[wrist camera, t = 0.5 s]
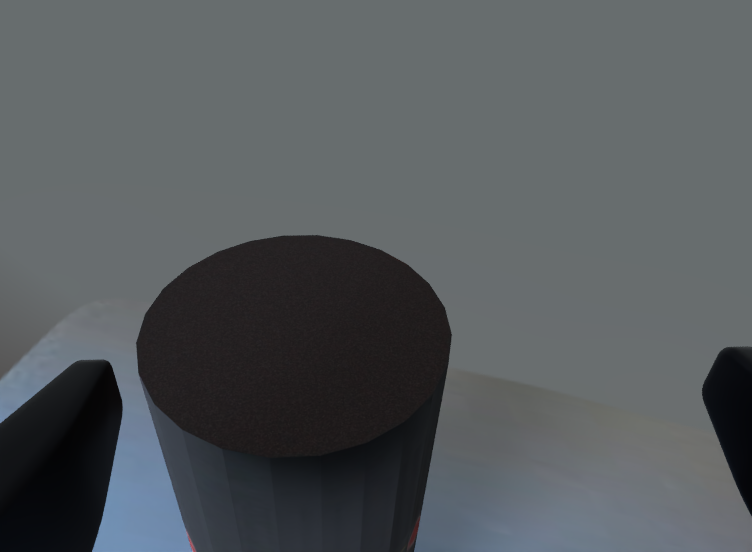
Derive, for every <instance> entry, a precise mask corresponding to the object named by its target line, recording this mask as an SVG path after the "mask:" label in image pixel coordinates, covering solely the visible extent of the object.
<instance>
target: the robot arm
mask: <svg viewBox="0 0 752 552" xmlns="http://www.w3.org/2000/svg"><path fill="white" fill-rule="evenodd" d="M702 396H703V401H704V404H705V406H706V409H707V411H708V414H709V416H710V419H711V421H712V424H713V427H714V429H715V432H716V434H717V437H718V439H719V442H720V445H721V447H722V450H723V452H724V455H725V457H726V460H727V462H728V465H729V468H730V470H731V473H732V475H733V478H734V480H735V482H736V485H737V487H738V489H739V492H740V494H741V496H742V498H743V500H744V502H745V504H746V506H747V508H748V510H749V512H750V514H751V516H752V347H727V348H724V349H723V350H722V351H721V352H720V353H719V354H718V356H717V358H716V360H715V362H714V364H713V366H712V368H711V370H710V372H709V374H708V376H707V378H706V380H705V382H704V384H703V388H702ZM122 411H123V407H122V399H121V396H120V392H119V389H118V385H117V382H116V378H115V375H114V372H113V368H112V366H111V364H110V363H109V362H108V361H106V360H80V361H77V362H75V363H73V364H72V365H71V366H69V367H68V368H67V369H66V370H64V371H63V372H62V373H61V374H60V375H58V376H57V377H56V378H55V379H54V380H52V381H51V382H50V383H49V384H47V385H46V386H45V387H44V388H43V389H41V390H40V391H39V392H38V393H37V394H35V395H34V396H33V397H32V398H31V399H29V400H28V401H27V402H26V403H24V404H23V405H22V406H21V407H20V408H18V409H17V410H16V411H15V412H14V413H12V414H11V415H10V416H9V417H8V418H6V419H5V420H4V421H3V422H1V423H0V552H92V550H93V547H94V544H95V540H96V537H97V534H98V530H99V527H100V524H101V520H102V516H103V511H104V507H105V502H106V497H107V492H108V487H109V482H110V476H111V471H112V466H113V461H114V456H115V450H116V445H117V440H118V435H119V430H120V425H121V419H122Z"/></svg>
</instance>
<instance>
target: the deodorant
mask: <svg viewBox="0 0 752 552" xmlns="http://www.w3.org/2000/svg"><path fill="white" fill-rule="evenodd" d="M451 336H452V334H451V330H450V326H449V322H448V319H447V315H446V311H445V307H444V306H443V304H442V303H441V301H440V300H439V298H438V297H437V295H436V293H435V292H434V290H433V289H432V287H431V286H430V284H429V283H428V282H426V281H425V280H424V279H423V278H422V277H421V276H420V275H419V274H417V273H416V272H415V271H414V270H413V269H412V268H411V267H409V265H407V264H405V263H404V262H402V261H400V260H398V259H396V258H394V257H392V256H391V255H389V254H387V253H385V252H383V251H382V250H379V249H376V248H373V247H370V246H367V245H364V244H361V243H358V242H354V241H351V240H345V239H339V238H332V237H324V236H318V235H315V236H314V235H312V236H311V235H308V236H279V237H273V238H267V239H261V240H254V241H250V242H246V243H243V244H240V245H237V246H234V247H231V248H228V249H225V250H222V251H219V252H217V253H215V254H213V255H211V256H209V257H207V258H206V259H204V260H202V261H200V262H198V263H196V264H194V265H192V266H191V267H189V268H188V269H186V270H185V271H184V272H183V273H181V274H180V275H179V276H178V277H177V278H176V279H174V280H173V281H172V282H171V283H170V284H168V285H167V286H166V287H165V288H164V289H163V290H162V291H161V293H160V294H159V296H158V297H157V298H156V300H155V301H154V303H153V304H152V305H151V307H150V308H149V310H148V311H147V312H146V314H145V317H144V320H143V323H142V326H141V330H140V333H139V336H138V339H137V342H136V345H137V359H138V373H139V377H140V380H141V383H142V387H143V390H144V393H145V397H146V400H147V403H148V406H149V410H150V413H151V416H152V420H153V423H154V426H155V429H156V433H157V436H158V439H159V443H160V446H161V449H162V453H163V456H164V459H165V462H166V466H167V469H168V472H169V476H170V479H171V482H172V486H173V489H174V492H175V495H176V499H177V502H178V505H179V509H180V512H181V515H182V518H183V522H184V525H185V528H186V532H187V535H188V538H189V542H190V545H191V548H192V551H193V552H414V548H415V543H416V538H417V532H418V527H419V521H420V516H421V510H422V505H423V499H424V494H425V488H426V483H427V477H428V472H429V467H430V461H431V456H432V450H433V445H434V439H435V434H436V428H437V423H438V417H439V412H440V407H441V401H442V396H443V390H444V385H445V379H446V374H447V368H448V362H449V353H450V345H451Z"/></svg>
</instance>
